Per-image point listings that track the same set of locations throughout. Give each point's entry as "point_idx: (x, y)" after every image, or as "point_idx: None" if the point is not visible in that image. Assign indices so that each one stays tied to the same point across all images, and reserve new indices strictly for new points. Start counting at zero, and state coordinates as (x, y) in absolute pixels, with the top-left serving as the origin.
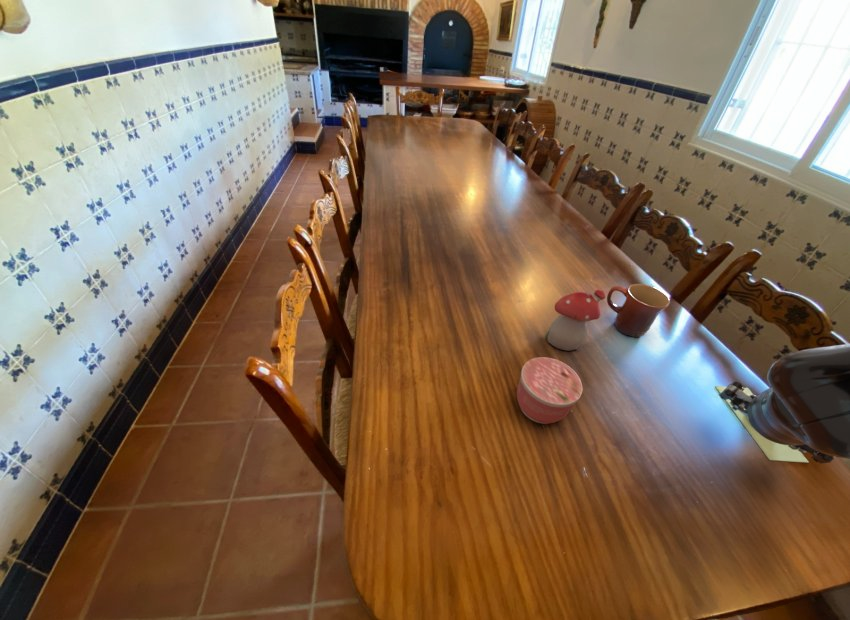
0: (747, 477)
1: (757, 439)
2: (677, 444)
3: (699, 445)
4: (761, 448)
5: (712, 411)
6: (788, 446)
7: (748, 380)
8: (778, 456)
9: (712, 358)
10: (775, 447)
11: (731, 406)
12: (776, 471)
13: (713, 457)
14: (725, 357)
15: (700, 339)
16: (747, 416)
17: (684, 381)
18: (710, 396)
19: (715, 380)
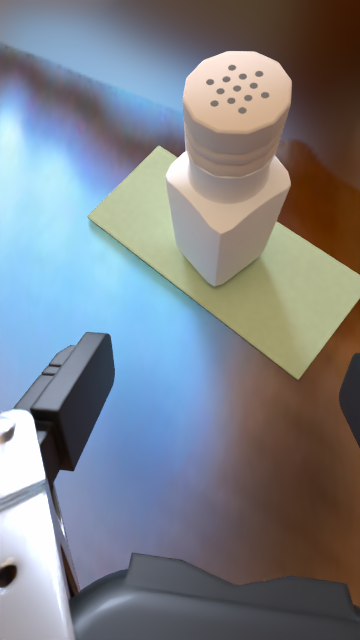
0: (279, 526)
1: (243, 327)
2: None
3: (124, 531)
4: (264, 353)
5: (112, 328)
6: (342, 409)
7: (152, 116)
8: (308, 340)
9: (54, 117)
10: (289, 311)
11: (146, 258)
12: (327, 406)
13: (174, 543)
14: (80, 84)
15: (9, 75)
16: (191, 263)
17: (12, 277)
18: (90, 269)
19: (83, 192)
